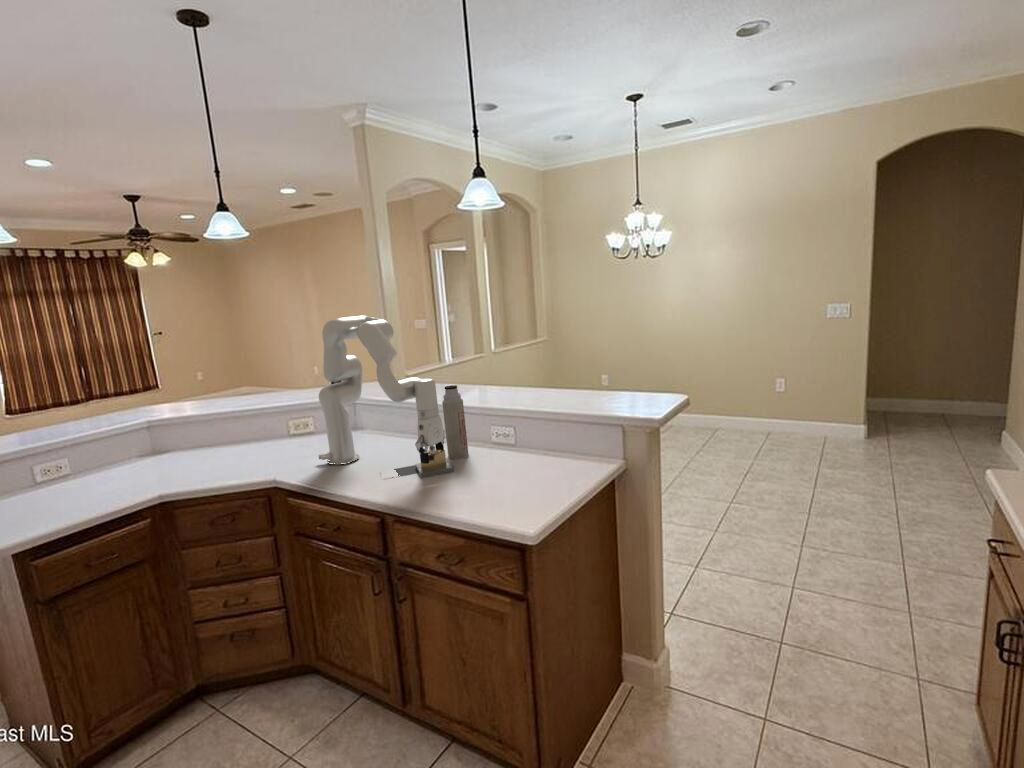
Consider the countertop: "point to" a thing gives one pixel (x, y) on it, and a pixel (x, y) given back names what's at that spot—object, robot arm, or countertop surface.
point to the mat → (406, 470)
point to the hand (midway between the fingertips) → (433, 458)
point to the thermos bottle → (454, 423)
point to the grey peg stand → (432, 472)
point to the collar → (435, 459)
